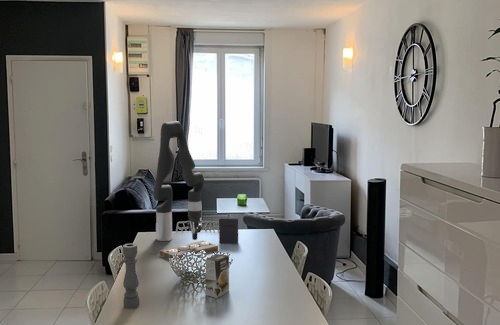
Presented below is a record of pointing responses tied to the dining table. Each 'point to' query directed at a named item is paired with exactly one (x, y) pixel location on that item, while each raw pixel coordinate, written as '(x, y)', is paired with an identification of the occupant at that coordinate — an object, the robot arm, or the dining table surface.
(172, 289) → the dining table surface
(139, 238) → the dining table surface
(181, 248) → the button blank
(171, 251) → the button two dots
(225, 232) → the dark brown box
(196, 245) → the button three dots
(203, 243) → the button one dot
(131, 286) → the candle holder
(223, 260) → the coffee box
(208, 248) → the brown flat block
